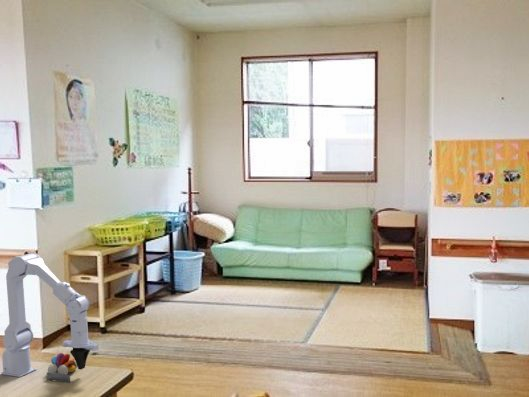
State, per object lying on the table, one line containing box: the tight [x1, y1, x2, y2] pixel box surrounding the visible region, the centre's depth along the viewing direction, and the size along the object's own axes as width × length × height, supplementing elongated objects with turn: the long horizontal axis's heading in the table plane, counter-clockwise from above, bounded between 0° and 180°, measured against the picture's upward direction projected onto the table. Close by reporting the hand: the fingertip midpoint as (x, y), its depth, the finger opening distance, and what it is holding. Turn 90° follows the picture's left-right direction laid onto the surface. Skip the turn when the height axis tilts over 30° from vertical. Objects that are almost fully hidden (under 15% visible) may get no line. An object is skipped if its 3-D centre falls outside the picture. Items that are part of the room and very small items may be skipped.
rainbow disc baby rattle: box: [47, 352, 78, 375], centre depth 208 cm, size 8×10×7 cm
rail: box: [46, 371, 71, 384], centre depth 200 cm, size 10×1×2 cm, turn 66°
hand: (81, 368), depth 203 cm, fingers closed
